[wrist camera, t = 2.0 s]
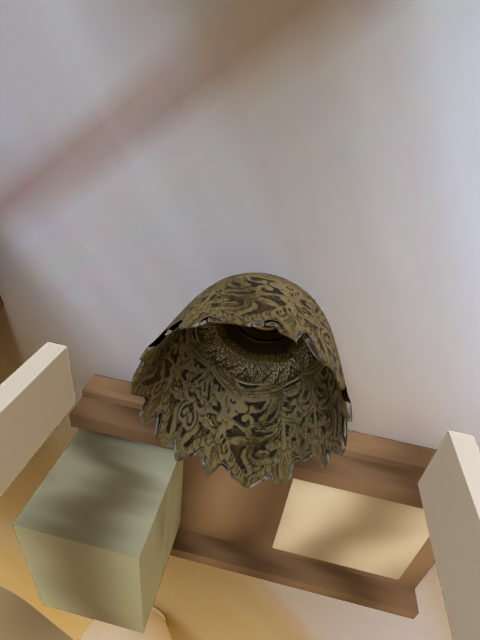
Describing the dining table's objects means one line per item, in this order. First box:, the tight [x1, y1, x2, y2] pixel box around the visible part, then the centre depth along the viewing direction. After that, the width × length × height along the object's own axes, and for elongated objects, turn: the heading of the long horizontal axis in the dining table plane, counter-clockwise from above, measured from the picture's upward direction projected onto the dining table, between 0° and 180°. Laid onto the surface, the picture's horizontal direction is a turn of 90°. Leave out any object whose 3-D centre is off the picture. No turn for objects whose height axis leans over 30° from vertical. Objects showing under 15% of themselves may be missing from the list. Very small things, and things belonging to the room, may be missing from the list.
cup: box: [130, 273, 352, 488], centre depth 16 cm, size 8×7×8 cm
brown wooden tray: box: [12, 375, 437, 633], centre depth 24 cm, size 24×14×8 cm, turn 84°
